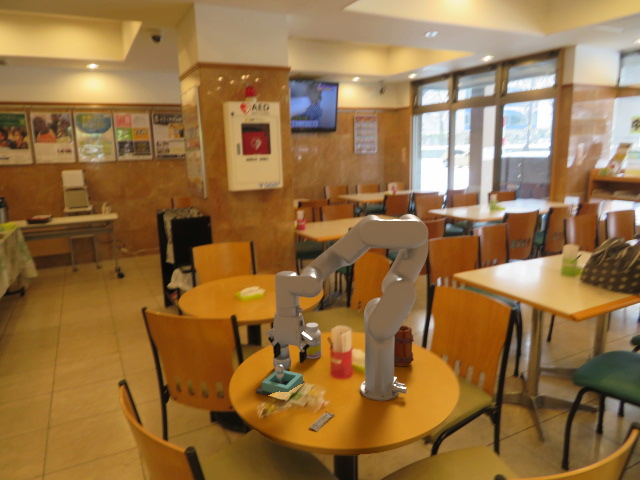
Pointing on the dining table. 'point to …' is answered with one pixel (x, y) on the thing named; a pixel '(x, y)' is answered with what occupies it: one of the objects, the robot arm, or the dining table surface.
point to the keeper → (279, 377)
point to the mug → (403, 346)
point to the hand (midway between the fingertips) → (290, 358)
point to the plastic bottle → (283, 357)
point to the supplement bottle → (315, 347)
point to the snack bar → (321, 421)
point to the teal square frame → (273, 387)
